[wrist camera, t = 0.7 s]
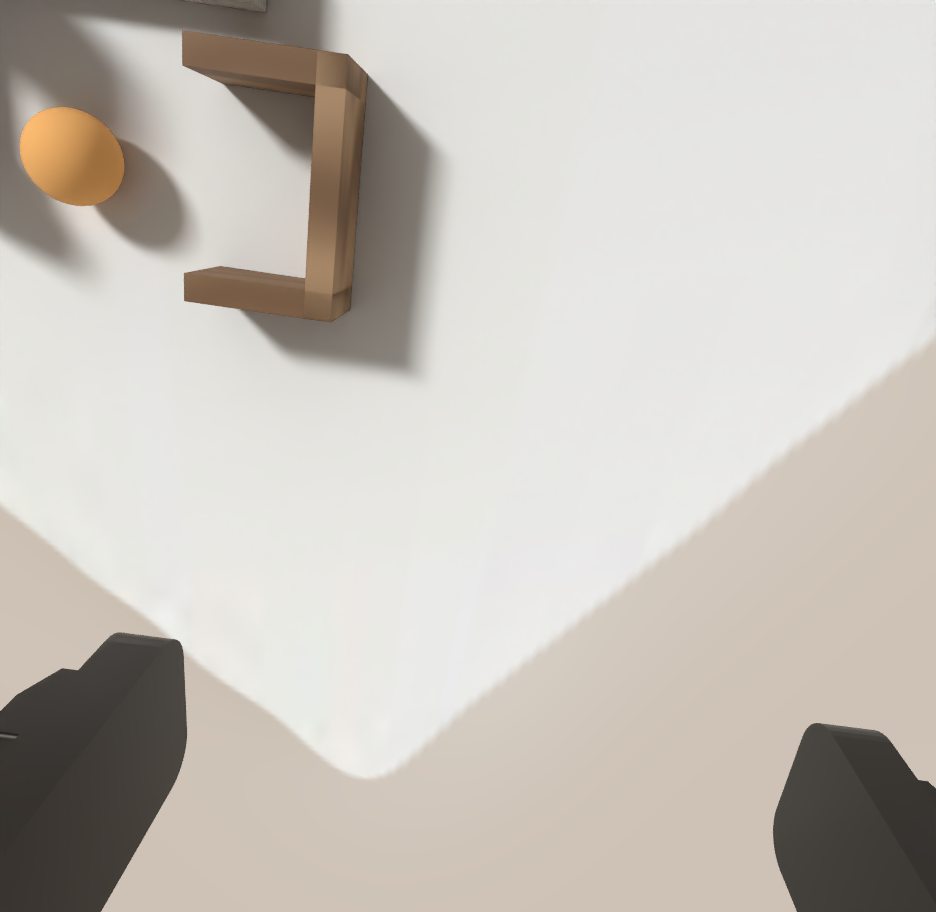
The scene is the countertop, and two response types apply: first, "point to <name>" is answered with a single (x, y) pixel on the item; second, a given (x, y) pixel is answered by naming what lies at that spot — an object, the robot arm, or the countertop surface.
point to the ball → (72, 156)
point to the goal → (331, 174)
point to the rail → (237, 4)
